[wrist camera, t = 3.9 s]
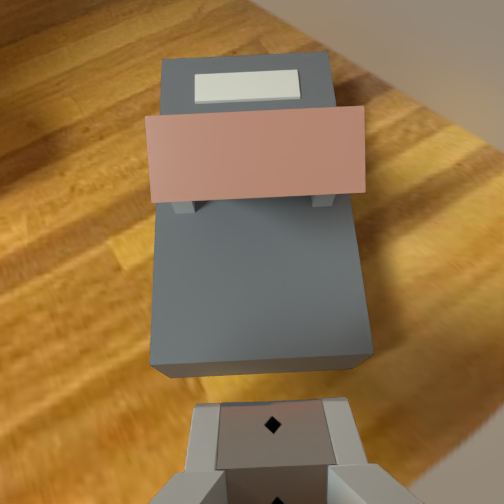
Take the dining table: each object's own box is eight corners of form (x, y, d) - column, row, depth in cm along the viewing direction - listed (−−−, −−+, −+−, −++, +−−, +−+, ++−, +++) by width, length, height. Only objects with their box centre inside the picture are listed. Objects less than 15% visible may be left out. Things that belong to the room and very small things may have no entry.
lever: (199, 198, 23) (151, 202, 11) (196, 155, 23) (144, 115, 11) (306, 193, 23) (365, 192, 11) (305, 150, 23) (364, 105, 11)
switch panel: (170, 378, 24) (135, 355, 17) (176, 115, 31) (152, 23, 24) (352, 368, 24) (389, 342, 17) (317, 108, 31) (334, 14, 24)
